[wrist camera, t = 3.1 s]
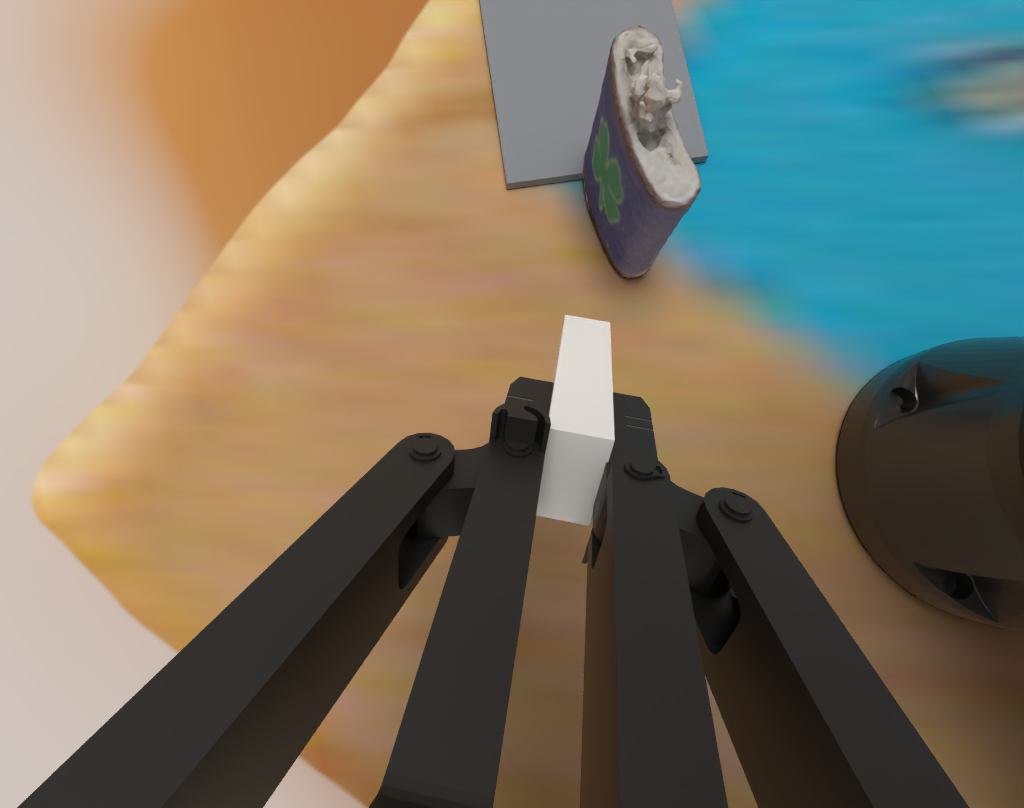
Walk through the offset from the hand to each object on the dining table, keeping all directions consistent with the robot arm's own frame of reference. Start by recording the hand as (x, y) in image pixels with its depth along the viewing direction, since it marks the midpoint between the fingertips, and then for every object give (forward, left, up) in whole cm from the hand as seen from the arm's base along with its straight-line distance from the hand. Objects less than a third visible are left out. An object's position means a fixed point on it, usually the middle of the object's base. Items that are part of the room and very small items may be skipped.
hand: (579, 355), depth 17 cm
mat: (+23, -5, -12) cm, 27 cm away
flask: (+12, -5, -12) cm, 18 cm away
